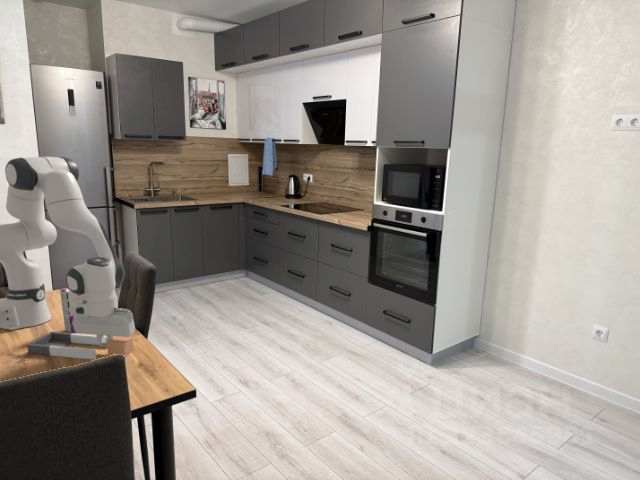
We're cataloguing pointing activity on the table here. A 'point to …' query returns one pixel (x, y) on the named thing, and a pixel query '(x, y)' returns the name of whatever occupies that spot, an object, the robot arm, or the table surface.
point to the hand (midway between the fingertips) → (106, 346)
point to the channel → (77, 351)
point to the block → (120, 345)
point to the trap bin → (49, 342)
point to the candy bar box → (70, 307)
